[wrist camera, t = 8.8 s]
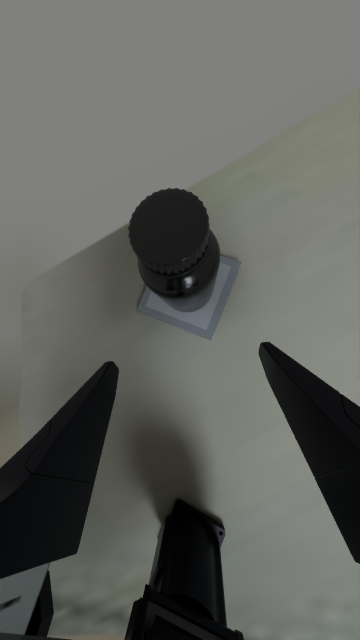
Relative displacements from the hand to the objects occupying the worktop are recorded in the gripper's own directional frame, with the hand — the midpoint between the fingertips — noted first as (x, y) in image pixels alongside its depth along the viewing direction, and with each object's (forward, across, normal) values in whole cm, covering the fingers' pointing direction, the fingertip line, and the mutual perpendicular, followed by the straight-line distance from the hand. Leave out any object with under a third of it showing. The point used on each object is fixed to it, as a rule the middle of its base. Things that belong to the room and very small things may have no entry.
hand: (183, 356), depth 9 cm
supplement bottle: (+13, 0, +2) cm, 13 cm away
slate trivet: (+14, 0, +3) cm, 14 cm away
